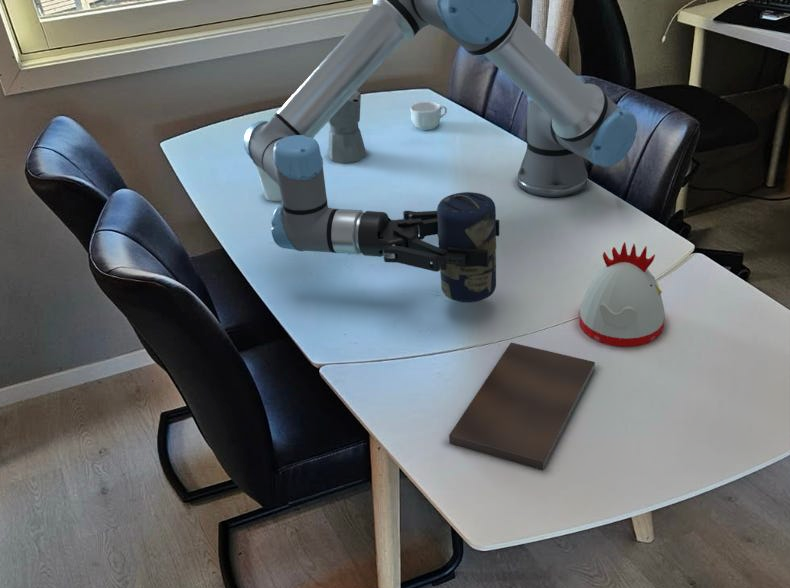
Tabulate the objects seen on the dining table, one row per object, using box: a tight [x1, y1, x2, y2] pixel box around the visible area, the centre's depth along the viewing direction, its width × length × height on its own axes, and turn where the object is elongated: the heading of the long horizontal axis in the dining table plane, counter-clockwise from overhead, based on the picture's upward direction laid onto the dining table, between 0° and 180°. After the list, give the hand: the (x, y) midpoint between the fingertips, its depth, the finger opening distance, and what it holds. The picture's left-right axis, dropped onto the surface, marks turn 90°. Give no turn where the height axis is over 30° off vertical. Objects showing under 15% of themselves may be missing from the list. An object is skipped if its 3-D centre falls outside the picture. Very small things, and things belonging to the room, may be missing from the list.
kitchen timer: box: [578, 241, 665, 348], centre depth 136 cm, size 14×14×15 cm
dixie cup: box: [255, 165, 282, 202], centre depth 182 cm, size 8×8×10 cm
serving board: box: [448, 342, 596, 471], centre depth 124 cm, size 24×14×2 cm, turn 155°
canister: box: [436, 191, 497, 304], centre depth 138 cm, size 10×10×18 cm
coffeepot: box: [327, 89, 368, 164], centre depth 197 cm, size 15×9×18 cm, turn 44°
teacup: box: [409, 100, 448, 131], centre depth 213 cm, size 10×8×5 cm
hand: (493, 242), depth 137 cm, fingers closed on canister, 9 cm apart
